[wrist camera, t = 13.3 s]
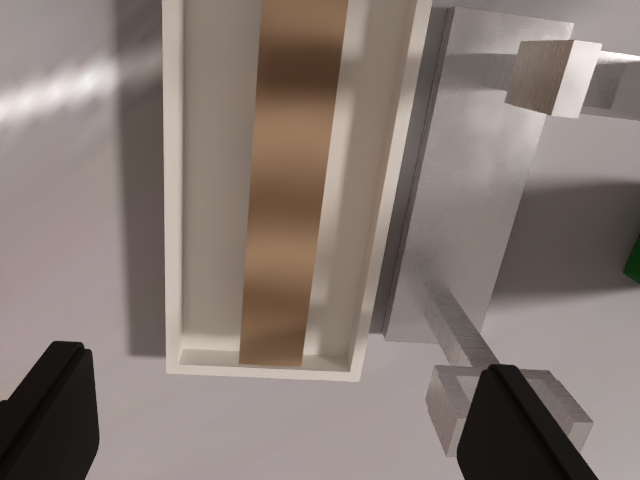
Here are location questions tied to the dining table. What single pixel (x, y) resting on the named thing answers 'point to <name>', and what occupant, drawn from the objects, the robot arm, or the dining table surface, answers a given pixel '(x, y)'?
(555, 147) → the dining table surface
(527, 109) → the steel stand
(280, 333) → the walnut rail
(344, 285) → the off-white tray
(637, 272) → the milk carton
